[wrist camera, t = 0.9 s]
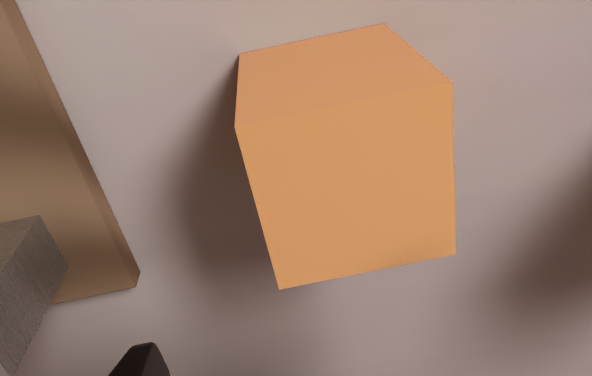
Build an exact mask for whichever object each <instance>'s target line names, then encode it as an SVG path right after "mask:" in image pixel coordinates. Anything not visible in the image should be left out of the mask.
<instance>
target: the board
mask: <svg viewBox="0 0 592 376" xmlns="http://www.w3.org/2000/svg"><path fill="white" fill-rule="evenodd" d="M36 215H40V216H41V218H42V220H43V221H44V223H45V225H46V227H47V229H48V230H49V232H50V234H51V236H52V237H53V239H54V241H55V243H56V245H57V246H58V248H59V250H60V252H61V254H62V255H63V257H64V259H65V261H66V263H67V264H68V268H67V270H66V272H65V274H64V276H63V278H62V280H61V282H60V284H59V286H58V288H57V290H56V292H55V294H54V296H53V298H52V300H51V302H50V304H49V305H51V304H55V303H60V302H65V301H70V300H75V299H80V298H85V297H90V296H95V295H100V294H105V293H110V292H115V291H120V290H125V289H130V288H135V287H136V285H137V281H138V278H139V275H140V270H139V268H138V266H137V264H136V262H135V259H134V257H133V255H132V253H131V251H130V249H129V246H128V244H127V242H126V240H125V238H124V236H123V233H122V231H121V229H120V227H119V225H118V223H117V220H116V218H115V216H114V214H113V212H112V210H111V207H110V205H109V203H108V201H107V199H106V197H105V194H104V192H103V190H102V188H101V186H100V184H99V181H98V179H97V177H96V175H95V173H94V171H93V168H92V166H91V164H90V162H89V160H88V157H87V155H86V153H85V151H84V149H83V147H82V144H81V142H80V140H79V138H78V136H77V134H76V131H75V129H74V127H73V125H72V123H71V121H70V118H69V116H68V114H67V112H66V110H65V108H64V105H63V103H62V101H61V99H60V97H59V95H58V92H57V90H56V88H55V86H54V84H53V82H52V79H51V77H50V75H49V73H48V71H47V69H46V66H45V64H44V62H43V60H42V58H41V56H40V53H39V51H38V49H37V47H36V45H35V43H34V40H33V38H32V36H31V34H30V32H29V30H28V27H27V25H26V23H25V21H24V19H23V17H22V14H21V12H20V10H19V8H18V6H17V4H16V1H15V0H0V223H2V222H7V221H12V220H16V219H21V218H26V217H31V216H36Z"/></svg>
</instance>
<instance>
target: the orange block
mask: <svg viewBox="0 0 592 376" xmlns="http://www.w3.org/2000/svg"><path fill="white" fill-rule="evenodd" d="M234 128H235V131H236V135H237V138H238V142H239V146H240V149H241V153H242V157H243V160H244V164H245V168H246V171H247V175H248V179H249V182H250V186H251V189H252V193H253V197H254V200H255V204H256V208H257V211H258V215H259V219H260V222H261V226H262V230H263V233H264V237H265V240H266V244H267V248H268V251H269V255H270V259H271V262H272V266H273V270H274V273H275V277H276V281H277V284H278V288H279V290H281V289H286V288H291V287H296V286H301V285H306V284H311V283H316V282H321V281H326V280H331V279H336V278H341V277H346V276H351V275H356V274H361V273H366V272H371V271H376V270H381V269H385V268H390V267H395V266H400V265H405V264H410V263H415V262H420V261H425V260H430V259H435V258H440V257H445V256H450V255H455V254H456V231H455V182H454V134H453V86H452V81H451V80H449V79H448V78H447V77H446V76H445V75H444V74H443V73H441V72H440V71H439V70H438V69H437V68H436V67H434V66H433V65H432V64H431V63H430V62H429V61H427V60H426V59H425V58H424V57H423V56H422V55H420V54H419V53H418V52H417V51H416V50H415V49H413V48H412V47H411V46H410V45H409V44H408V43H406V42H405V41H404V40H403V39H402V38H401V37H400V36H398V35H397V34H396V33H395V32H394V31H393V30H391V29H390V28H389V27H388V26H387V25H386V24H379V25H374V26H369V27H365V28H360V29H355V30H350V31H346V32H341V33H336V34H332V35H327V36H322V37H317V38H313V39H308V40H303V41H299V42H294V43H289V44H284V45H280V46H275V47H270V48H265V49H261V50H256V51H251V52H247V53H242V54H239V68H238V82H237V97H236V112H235V127H234Z"/></svg>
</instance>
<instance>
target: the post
mask: <svg viewBox="0 0 592 376" xmlns="http://www.w3.org/2000/svg"><path fill="white" fill-rule="evenodd" d="M67 268H68V264H67V263H66V261H65V259H64V257H63V255H62V254H61V252H60V250H59V248H58V246H57V245H56V243H55V241H54V239H53V237H52V236H51V234H50V232H49V230H48V229H47V227H46V225H45V223H44V221H43V220H42V218H41V216H40V215H36V216H31V217H26V218H21V219H16V220H12V221H7V222H2V223H0V376H14V374H15V372H16V370H17V368H18V366H19V364H20V362H21V360H22V358H23V356H24V354H25V352H26V350H27V348H28V346H29V344H30V342H31V340H32V338H33V336H34V334H35V332H36V330H37V328H38V326H39V324H40V322H41V320H42V318H43V316H44V314H45V312H46V310H47V308H48V306H49V304H50V302H51V300H52V298H53V296H54V294H55V292H56V290H57V288H58V286H59V284H60V282H61V280H62V278H63V276H64V274H65V272H66V270H67Z"/></svg>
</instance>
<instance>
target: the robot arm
mask: <svg viewBox="0 0 592 376" xmlns="http://www.w3.org/2000/svg"><path fill="white" fill-rule="evenodd" d="M108 376H170V373H169V370H168V367H167V365H166V363H165V361H164V359H163V357H162V355H161V353H160V351H159V349H158V347H157V346H156V344H155V343H153V342H149V343H144V344H139V345H135V346H132V347H131V348H130V349H129V350H128V351H127V353H126V354H125V355H124V356H123V358H122V359H121V360H120V361H119V363H118V364H117V365H116V367H115V368H114V369H113V370H112V372H111V373H110V374H109V375H108Z"/></svg>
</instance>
